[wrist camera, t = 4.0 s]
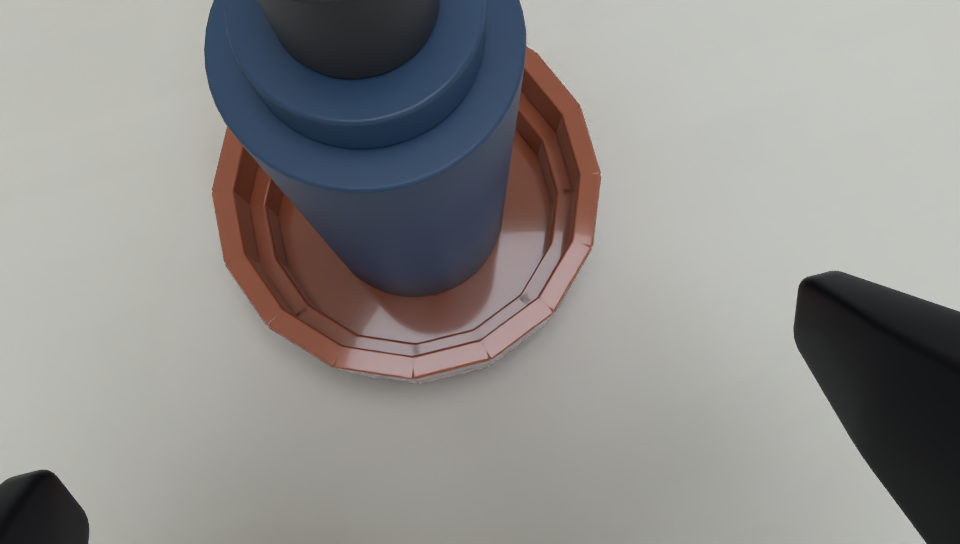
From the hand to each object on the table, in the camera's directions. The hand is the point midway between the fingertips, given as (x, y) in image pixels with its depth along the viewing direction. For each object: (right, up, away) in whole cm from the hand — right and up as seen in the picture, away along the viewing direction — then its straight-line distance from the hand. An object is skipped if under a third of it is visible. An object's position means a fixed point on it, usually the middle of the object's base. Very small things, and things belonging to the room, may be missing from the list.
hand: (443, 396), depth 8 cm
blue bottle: (-2, +3, +13) cm, 14 cm away
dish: (-2, +3, +14) cm, 14 cm away
